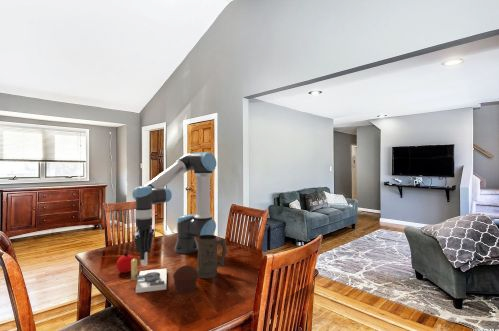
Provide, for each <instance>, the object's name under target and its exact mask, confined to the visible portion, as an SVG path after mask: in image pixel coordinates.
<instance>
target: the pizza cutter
mask: <svg viewBox="0 0 499 331" xmlns="http://www.w3.org/2000/svg"><path fill="white" fill-rule="evenodd" d="M143 278H144V280H145V281H147V282H152V281H156V280H158V279H160V273H158V272H151V273H148V274H146V275H139V274H138V259H137V258H134V259H132V260H131V271H130V281H135V280H138V279H143Z"/></svg>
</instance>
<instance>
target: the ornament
mask: <svg viewBox="0 0 499 331" xmlns="http://www.w3.org/2000/svg"><path fill="white" fill-rule="evenodd" d="M132 259H135V257H134V256H133V255H131V254H129V252H124V253H123V255H121V256H120V257H119V258H118V259H117V261H116V269H117V270H118V271H119V272H120V273H124V274H125V273H126V274H127V273H130V272H131V260H132Z"/></svg>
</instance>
